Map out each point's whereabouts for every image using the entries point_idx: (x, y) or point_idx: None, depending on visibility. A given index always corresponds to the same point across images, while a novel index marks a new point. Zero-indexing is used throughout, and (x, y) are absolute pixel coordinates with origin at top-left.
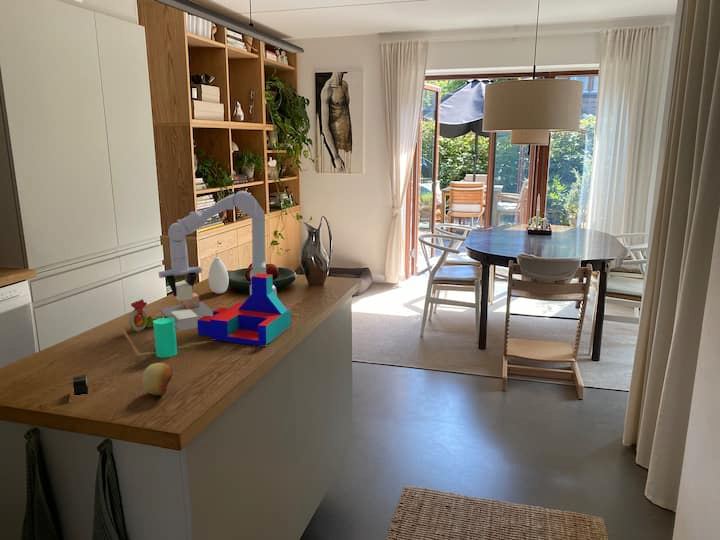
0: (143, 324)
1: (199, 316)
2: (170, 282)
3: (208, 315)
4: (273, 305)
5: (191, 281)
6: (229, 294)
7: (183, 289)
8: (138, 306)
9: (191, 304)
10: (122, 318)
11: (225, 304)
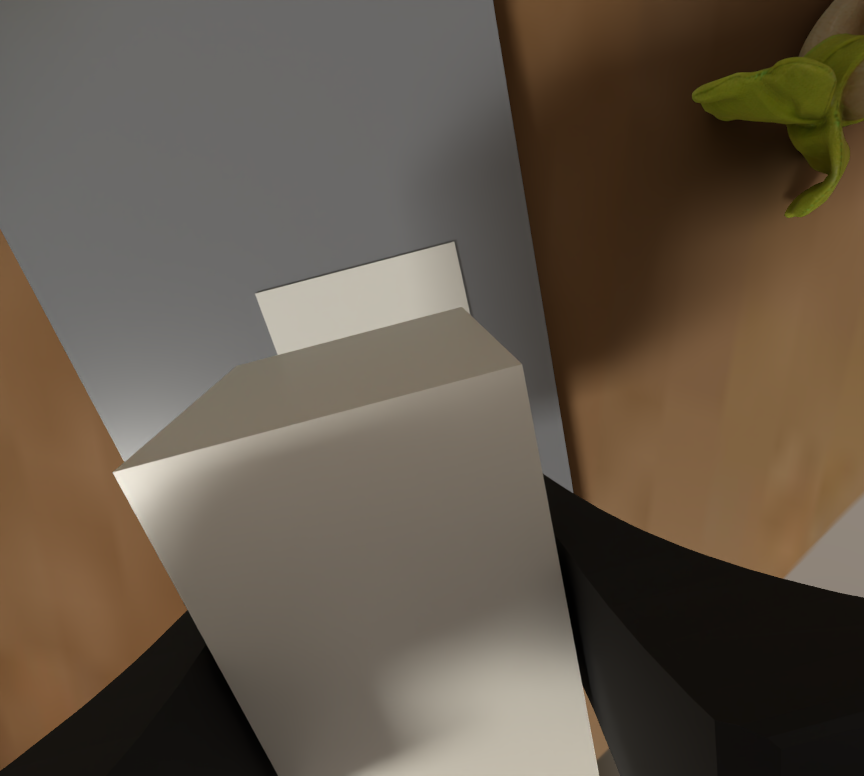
0: (846, 29)
1: (240, 286)
2: (819, 599)
3: (141, 290)
4: None
5: (105, 743)
6: None
7: (370, 389)
8: None
9: None
10: (855, 496)
11: (48, 643)
